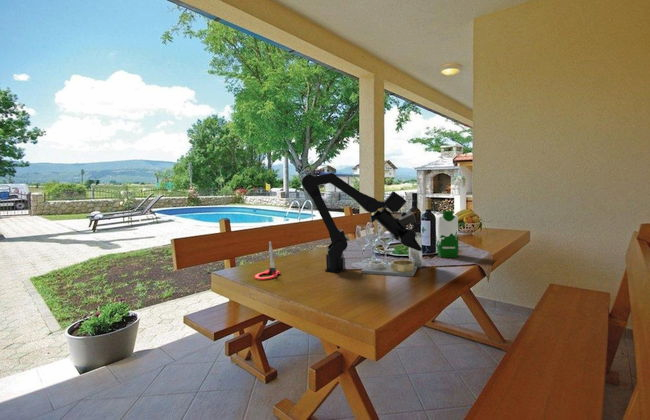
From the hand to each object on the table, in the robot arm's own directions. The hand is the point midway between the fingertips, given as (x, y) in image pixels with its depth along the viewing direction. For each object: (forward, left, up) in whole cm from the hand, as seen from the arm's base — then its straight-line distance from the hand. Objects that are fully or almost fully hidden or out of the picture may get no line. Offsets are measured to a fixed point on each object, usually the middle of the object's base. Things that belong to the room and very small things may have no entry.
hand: (417, 247), depth 128 cm
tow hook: (-52, -28, -7) cm, 59 cm away
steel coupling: (-1, 0, -7) cm, 7 cm away
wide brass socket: (-4, -10, -7) cm, 13 cm away
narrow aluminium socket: (-14, -10, -7) cm, 19 cm away
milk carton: (+10, +21, -7) cm, 24 cm away
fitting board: (-9, -10, -7) cm, 15 cm away
